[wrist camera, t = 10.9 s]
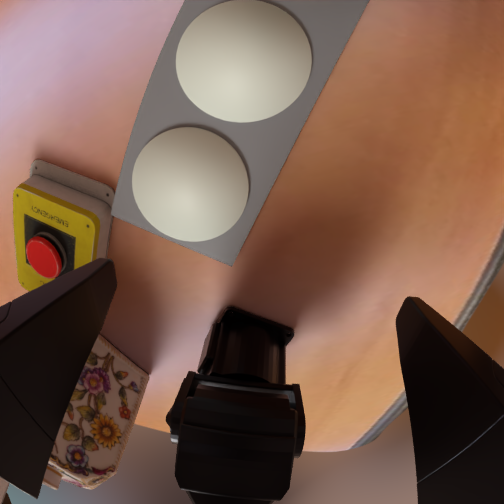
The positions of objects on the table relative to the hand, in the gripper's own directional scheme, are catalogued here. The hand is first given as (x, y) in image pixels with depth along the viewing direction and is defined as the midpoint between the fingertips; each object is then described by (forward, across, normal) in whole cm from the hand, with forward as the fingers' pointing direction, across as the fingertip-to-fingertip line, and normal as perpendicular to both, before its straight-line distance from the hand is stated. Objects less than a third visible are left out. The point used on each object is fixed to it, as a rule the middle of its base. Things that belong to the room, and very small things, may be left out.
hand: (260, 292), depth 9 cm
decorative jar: (+13, +18, +24) cm, 33 cm away
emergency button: (+14, +18, +8) cm, 24 cm away
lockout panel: (+13, +2, -7) cm, 15 cm away
